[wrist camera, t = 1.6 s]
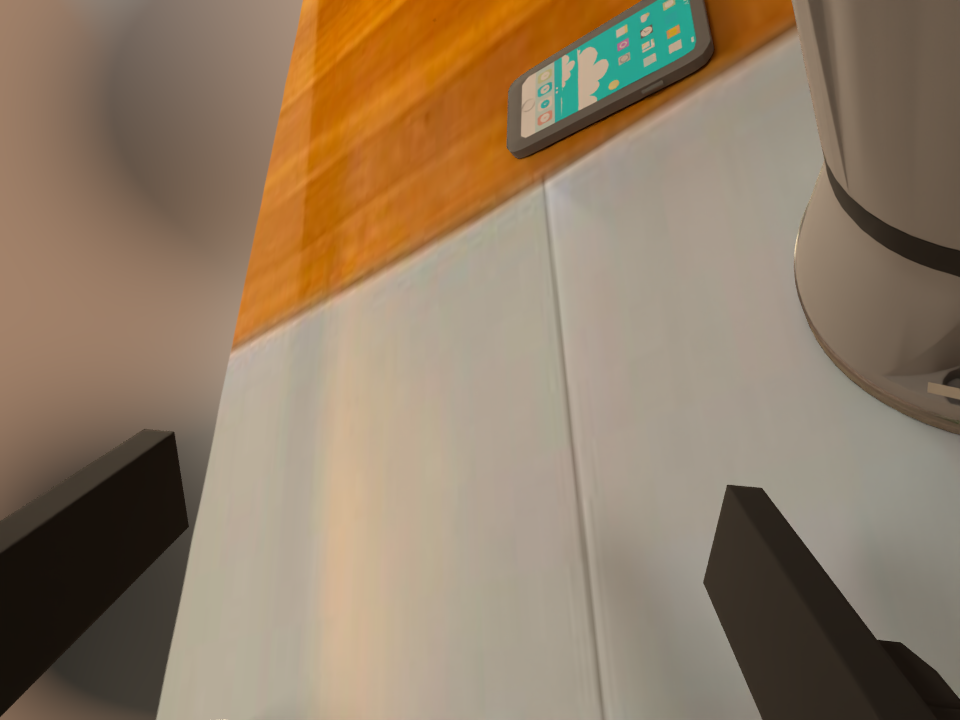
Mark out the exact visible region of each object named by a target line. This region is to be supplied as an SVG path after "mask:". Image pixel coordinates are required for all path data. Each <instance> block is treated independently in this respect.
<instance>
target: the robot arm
mask: <svg viewBox="0 0 960 720" xmlns="http://www.w3.org/2000/svg"><path fill="white" fill-rule="evenodd" d="M792 4H793V9H794V14H795V18H796V23H797V28H798V33H799V38H800V43H801V48H802V53H803V58H804V63H805V68H806V73H807V77H808V82H809V87H810V92H811V97H812V102H813V107H814V112H815V117H816V122H817V127H818V132H819V136H820V141H821V146H822V150H823V154H824V159H825V160H824V163H823V166H822V168H821V171H820V174H819V176H818V179H817V182H816V185H815V188H814V190H813V193H812V196H811V199H810V201H809V203H808V205H807V207H806V210H805V212H804V215H803V217H802V220H801V224H800V227H799V231H798V236H797V241H796V246H795V253H794V273H795V283H796V287H797V292H798V296H799V299H800V302H801V305H802V308H803V311H804V313H805V316H806V319H807V322H808V324H809V327H810V329H811V331H812V332H813V334H814V336H815V338H816V340H817V342H818V343H819V345H820V346H821V348H822V349H823V350H824V352H825V353H826V355H827V356H828V357H829V358H830V359H831V360H832V362H833V363H834V364H835V365H836V366H837V367H838V368H839V369H840V370H841V371H842V372H843V373H844V374H845V375H846V376H847V377H848V378H849V379H850V380H852V381H853V382H854V383H855V384H857V385H858V386H859V387H861V388H862V389H863V390H864V391H866V392H867V393H869V394H870V395H872V396H873V397H875V398H876V399H878V400H880V401H881V402H883V403H884V404H886V405H888V406H890V407H892V408H894V409H896V410H897V411H899V412H901V413H903V414H905V415H907V416H910V417H912V418H914V419H917V420H919V421H921V422H924V423H926V424H929V425H931V426H934V427H937V428H940V429H943V430H946V431H949V432H952V433H955V434H959V435H960V0H792ZM188 527H189V525H188V519H187V512H186V506H185V499H184V492H183V486H182V479H181V473H180V466H179V460H178V453H177V447H176V440H175V434H174V432H170V431H160V430H149V429H144V430H142V431H141V432H139V433H137V434H136V435H134V436H133V437H131V438H130V439H128V440H126V441H125V442H123V443H122V444H120V445H119V446H117V447H115V448H114V449H112V450H111V451H109V452H108V453H106V454H105V455H103V456H101V457H100V458H99V459H97V460H95V461H94V462H92V463H90V464H89V465H87V466H86V467H84V468H83V469H81V470H80V471H78V472H76V473H75V474H73V475H72V476H70V477H69V478H67V479H65V480H64V481H62V482H61V483H59V484H58V485H56V486H55V487H53V488H51V489H50V490H48V491H47V492H45V493H44V494H42V495H41V496H39V497H37V498H36V499H34V500H33V501H31V502H29V503H28V504H26V505H25V506H23V507H22V508H20V509H19V510H17V511H15V512H14V513H12V514H11V515H10V516H8V517H6V518H4V519H3V520H1V521H0V717H1V715H3V714H4V713H5V712H6V711H7V710H8V708H9V707H11V706H12V705H13V704H14V703H15V701H16V700H17V699H18V698H19V697H20V696H21V695H22V694H23V693H24V692H25V691H26V690H27V689H28V688H29V687H30V686H31V685H32V684H33V683H34V682H35V681H36V680H37V679H38V678H39V677H40V676H41V675H42V674H43V673H44V672H45V671H46V670H47V669H48V668H49V667H50V666H51V665H52V664H53V663H54V662H55V661H56V660H57V659H58V658H59V657H60V656H61V655H62V654H63V653H64V652H65V651H66V650H67V649H68V648H69V647H70V646H71V645H72V644H73V643H74V642H75V641H76V640H77V639H78V638H79V637H80V636H81V635H82V634H83V633H84V632H85V631H86V630H87V629H88V628H89V627H90V626H91V625H92V624H93V623H94V622H95V621H96V620H97V619H98V618H99V617H100V616H101V615H102V614H103V613H104V612H105V611H106V610H107V609H108V608H109V607H110V606H111V605H112V604H113V603H114V602H115V600H116V599H117V598H119V597H120V595H121V594H122V593H124V591H126V589H127V588H128V587H129V586H130V585H131V584H132V583H133V582H134V581H135V580H136V579H137V578H138V577H139V576H140V575H141V574H142V573H143V572H144V571H145V570H146V569H147V568H148V567H149V566H150V565H151V564H152V563H153V562H154V561H155V560H156V559H157V558H158V557H159V556H160V555H161V554H162V553H163V552H164V551H165V550H166V549H167V548H168V547H169V546H170V545H171V544H172V543H173V542H174V541H175V540H176V539H177V538H178V537H179V536H180V535H181V534H182V533H183V532H184V531H185V530H186V529H187V528H188ZM703 583H704V585H705V588H706V590H707V592H708V595H709V597H710V599H711V601H712V604H713V606H714V608H715V611H716V613H717V615H718V618H719V620H720V622H721V625H722V627H723V629H724V631H725V634H726V636H727V638H728V641H729V643H730V645H731V648H732V650H733V652H734V655H735V657H736V659H737V662H738V664H739V666H740V668H741V671H742V673H743V675H744V678H745V680H746V682H747V685H748V687H749V689H750V692H751V694H752V696H753V699H754V701H755V703H756V705H757V708H758V710H759V712H760V715H761V717H762V719H763V720H960V699H959V698H958V696H957V695H956V694H955V693H954V692H953V690H952V689H951V688H950V687H949V686H948V684H947V683H946V682H945V681H944V680H943V678H942V677H941V676H940V675H939V674H938V672H937V671H936V670H934V669H933V668H932V667H931V666H929V665H928V664H927V663H926V662H924V661H923V660H922V659H921V658H920V657H918V656H917V655H916V654H915V653H913V652H912V651H911V650H910V649H908V648H907V647H906V646H905V645H903V644H902V643H901V642H892V641H883V640H877V639H876V638H875V637H874V635H873V634H872V633H871V631H870V630H869V629H868V627H867V626H866V625H865V623H864V622H863V621H862V619H861V618H860V617H859V615H858V614H857V613H856V611H855V610H854V609H853V607H852V606H851V605H850V604H849V602H848V601H847V600H846V598H845V597H844V596H843V594H842V593H841V592H840V590H839V589H838V588H837V586H836V585H835V584H834V582H833V581H832V580H831V578H830V577H829V576H828V575H827V573H826V572H825V571H824V569H823V568H822V567H821V565H820V564H819V563H818V561H817V560H816V559H815V557H814V556H813V555H812V553H811V552H810V551H809V549H808V548H807V547H806V545H805V544H804V543H803V542H802V540H801V539H800V538H799V536H798V535H797V534H796V532H795V531H794V530H793V528H792V527H791V526H790V524H789V523H788V522H787V520H786V519H785V518H784V516H783V515H782V514H781V512H780V511H779V510H778V509H777V507H776V506H775V505H774V503H773V502H772V501H771V499H770V498H769V497H768V495H767V494H766V493H765V491H764V490H763V489H762V488H755V487H745V486H735V485H727V488H726V492H725V496H724V500H723V504H722V508H721V512H720V516H719V520H718V524H717V528H716V533H715V537H714V541H713V545H712V549H711V553H710V557H709V561H708V565H707V569H706V574H705V578H704V582H703Z"/></svg>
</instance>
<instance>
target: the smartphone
mask: <svg viewBox="0 0 960 720" xmlns="http://www.w3.org/2000/svg"><path fill="white" fill-rule="evenodd" d="M713 51H714V46H713V41H712V36H711V31H710V26H709V21H708V16H707V11H706V6H705V1H704V0H642V1H640V2H639V3H637V4H635V5H634V6H632V7H631V8H629V9H627V10H626V11H624V12H622V13H621V14H619V15H617V16H616V17H614V18H613V19H611V20H609V21H608V22H606V23H604V24H603V25H601V26H600V27H598V28H596V29H595V30H593V31H591V32H590V33H588V34H586V35H585V36H583V37H582V38H580V39H578V40H577V41H575V42H573V43H572V44H570V45H568V46H567V47H565V48H564V49H562V50H560V51H559V52H557V53H555V54H554V55H552V56H551V57H549V58H547V59H546V60H544V61H543V62H541V63H539V64H538V65H536V66H535V67H533V68H532V69H530V70H528V71H527V72H526V73H524V74H523V75H521V76H520V77H519V78H517V79H516V80H515V81H514V82H513V83H512V85H511V86H510V89H509V91H508V120H507V148H508V150H509V151H510V152H511V153H512V154H513V155H514V157H516V158H518V159H519V158H523V157H526V156H528V155H530V154H533V153H535V152H537V151H539V150H541V149H543V148H544V147H546V146H548V145H550V144H552V143H554V142H556V141H558V140H560V139H562V138H564V137H566V136H568V135H570V134H572V133H574V132H576V131H578V130H580V129H582V128H584V127H586V126H588V125H590V124H592V123H594V122H596V121H598V120H600V119H602V118H604V117H606V116H608V115H610V114H612V113H614V112H616V111H618V110H620V109H622V108H624V107H626V106H628V105H630V104H632V103H634V102H636V101H638V100H640V99H642V98H644V97H646V96H648V95H650V94H652V93H654V92H656V91H658V90H660V89H662V88H664V87H666V86H668V85H670V84H672V83H674V82H676V81H678V80H680V79H682V78H684V77H685V76H687V75H689V74H691V73H693V72H694V71H696V70H698V69H699V68H700V67H702V66H703V65H705V64H706V63H707V61H708V60H709V59H710V57H711V56H712V53H713Z"/></svg>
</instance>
